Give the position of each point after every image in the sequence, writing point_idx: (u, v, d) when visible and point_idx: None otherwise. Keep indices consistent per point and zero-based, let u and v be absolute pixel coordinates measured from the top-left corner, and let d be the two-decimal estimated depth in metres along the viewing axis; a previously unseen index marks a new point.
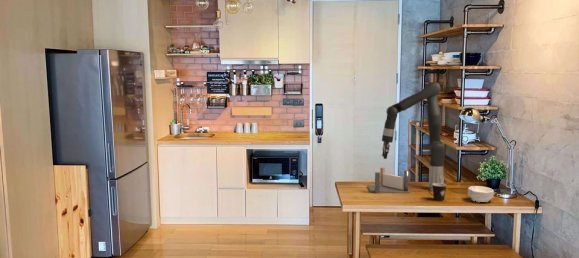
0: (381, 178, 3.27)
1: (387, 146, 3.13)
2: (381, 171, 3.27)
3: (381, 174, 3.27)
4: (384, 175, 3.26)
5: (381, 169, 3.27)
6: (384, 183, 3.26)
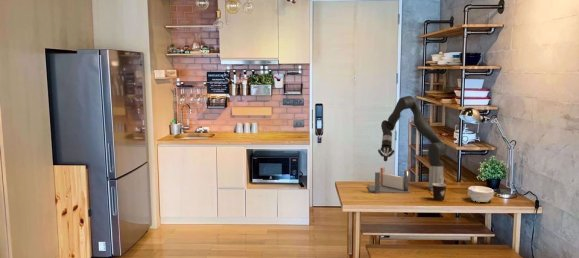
0: (381, 178, 3.27)
1: (378, 152, 3.49)
2: (381, 171, 3.27)
3: (381, 174, 3.27)
4: (384, 175, 3.26)
5: (381, 169, 3.27)
6: (384, 183, 3.26)
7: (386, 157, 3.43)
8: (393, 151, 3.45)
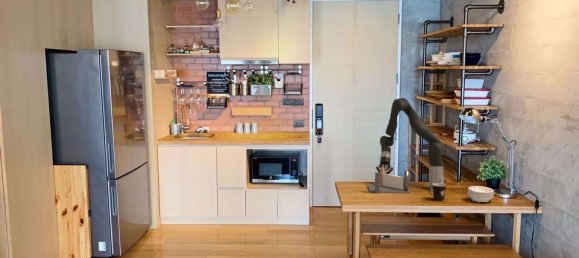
0: (381, 178, 3.27)
1: (376, 169, 3.36)
2: (381, 171, 3.27)
3: (381, 174, 3.27)
4: (384, 175, 3.25)
5: (381, 169, 3.27)
6: (384, 183, 3.26)
7: None
8: (392, 168, 3.32)
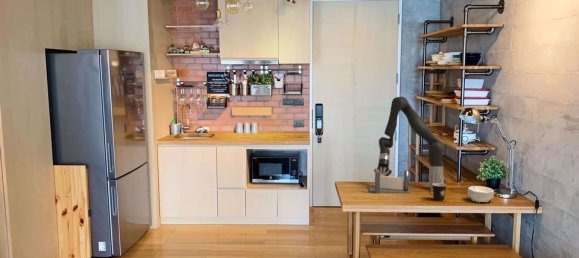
0: None
1: (374, 171, 3.27)
2: None
3: None
4: (380, 177, 3.19)
5: (376, 171, 3.19)
6: (380, 185, 3.20)
7: None
8: (390, 171, 3.23)
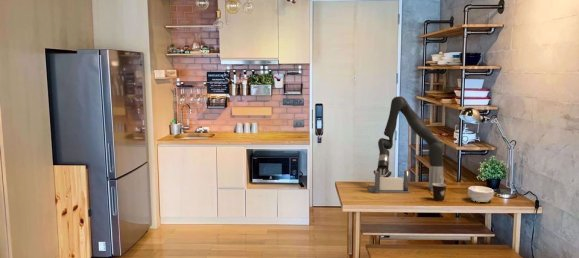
0: None
1: (374, 173, 3.22)
2: None
3: None
4: (380, 179, 3.13)
5: None
6: (380, 187, 3.14)
7: None
8: (390, 173, 3.18)
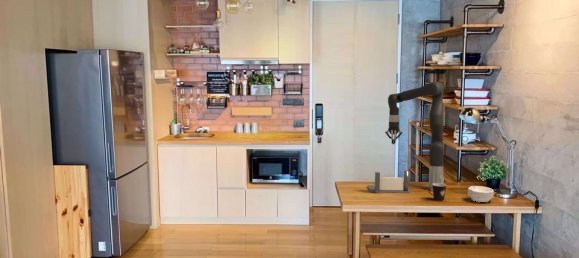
0: None
1: None
2: None
3: None
4: (380, 179, 3.13)
5: None
6: (380, 187, 3.14)
7: (394, 141, 3.37)
8: (401, 133, 3.35)
